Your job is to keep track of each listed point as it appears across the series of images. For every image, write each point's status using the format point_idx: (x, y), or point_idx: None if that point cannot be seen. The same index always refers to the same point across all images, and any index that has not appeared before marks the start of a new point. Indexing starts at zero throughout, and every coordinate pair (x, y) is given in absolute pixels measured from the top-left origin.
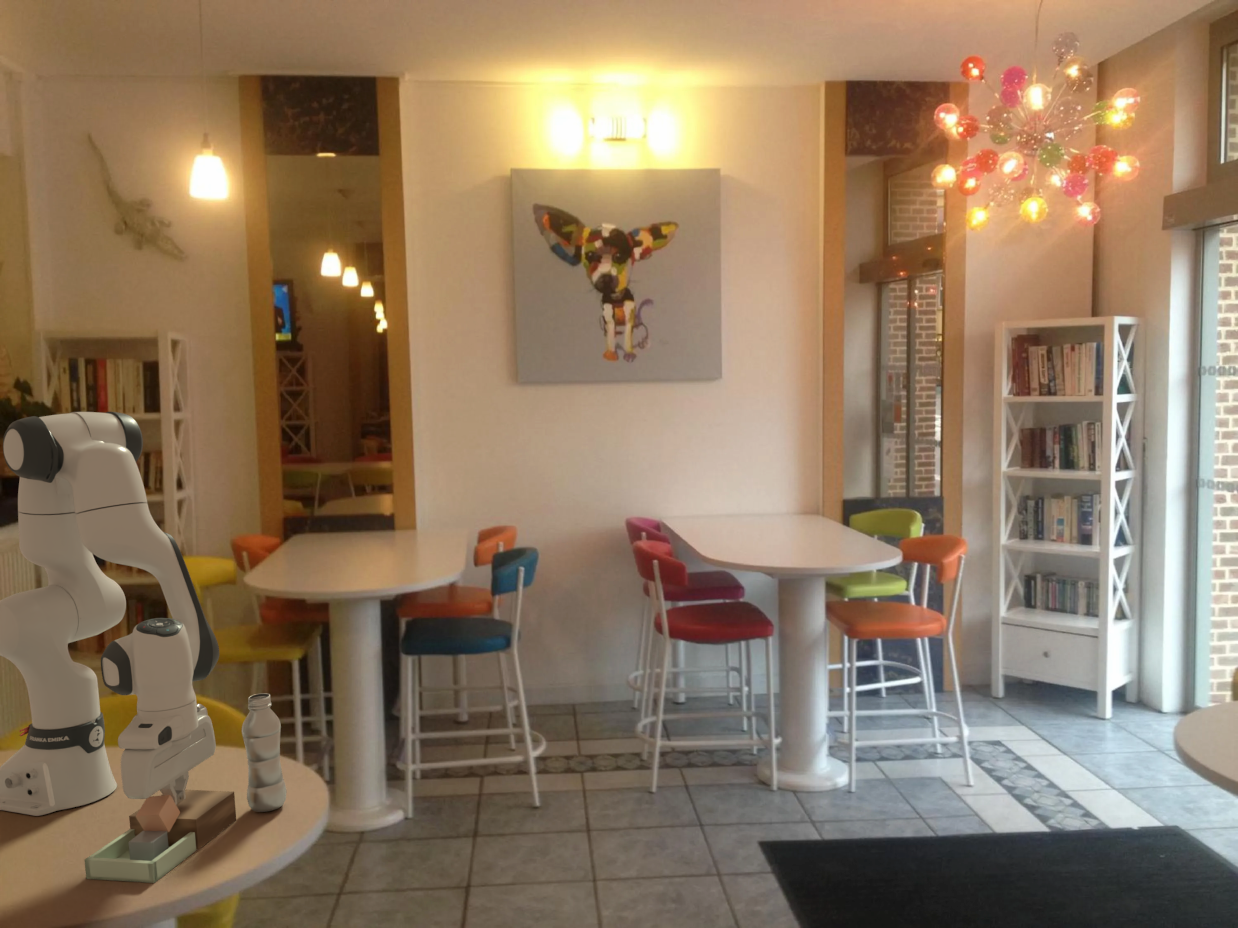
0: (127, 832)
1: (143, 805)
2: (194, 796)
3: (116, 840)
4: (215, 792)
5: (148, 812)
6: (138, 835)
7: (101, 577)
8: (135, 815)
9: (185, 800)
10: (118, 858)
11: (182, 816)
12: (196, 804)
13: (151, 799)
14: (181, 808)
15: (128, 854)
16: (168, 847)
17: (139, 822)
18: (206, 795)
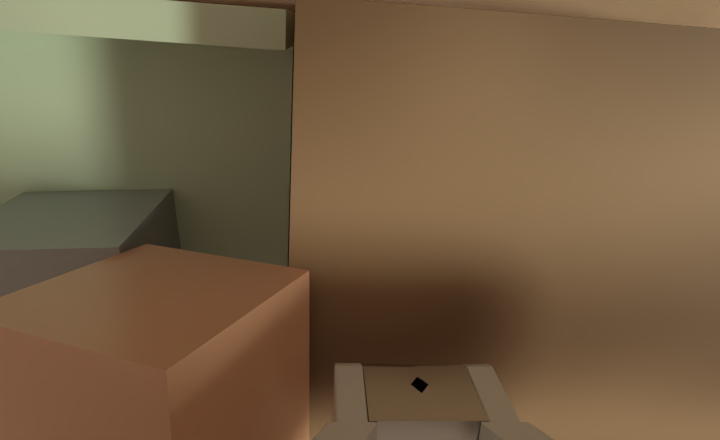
0: (224, 27)
1: (60, 357)
2: (669, 329)
3: (81, 23)
4: (715, 425)
5: (2, 431)
6: (34, 261)
7: None
8: (313, 53)
9: (603, 303)
10: (103, 46)
11: (319, 426)
12: (518, 411)
13: (134, 425)
14: (453, 353)
15: (161, 80)
16: (275, 261)
17: (35, 287)
18: (671, 398)
